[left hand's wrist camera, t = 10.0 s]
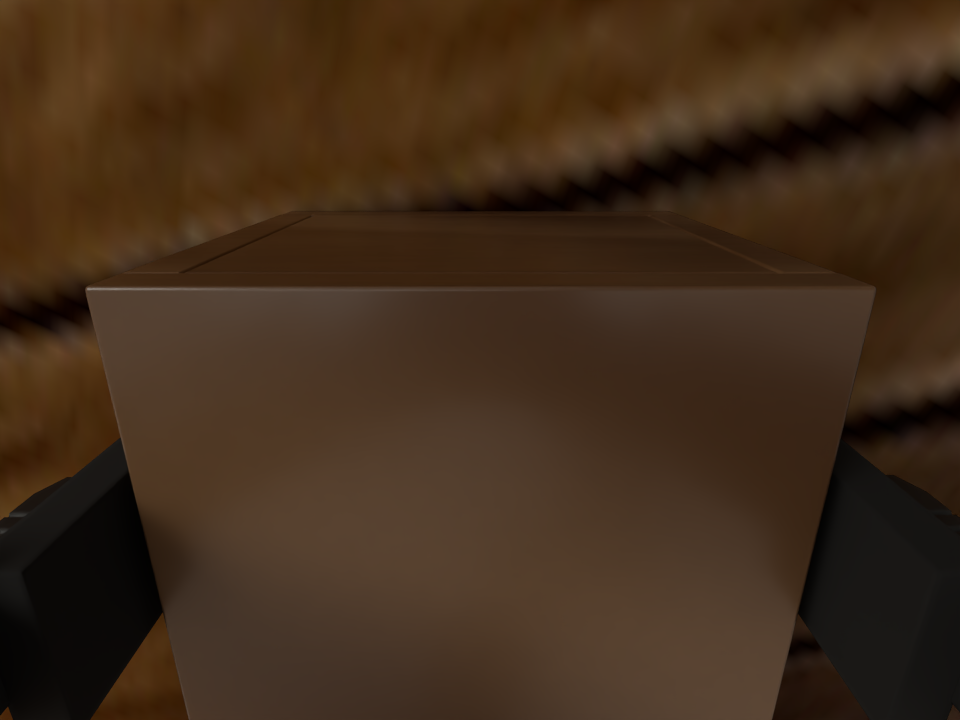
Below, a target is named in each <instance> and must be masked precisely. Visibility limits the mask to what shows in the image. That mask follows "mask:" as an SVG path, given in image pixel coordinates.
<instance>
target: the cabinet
mask: <svg viewBox="0 0 960 720" xmlns="http://www.w3.org/2000/svg"><path fill="white" fill-rule="evenodd" d="M85 292H86V296H87V300H88V304H89V308H90V313H91V317H92V321H93V325H94V329H95V333H96V337H97V341H98V346H99V350H100V354H101V358H102V362H103V366H104V370H105V375H106V379H107V383H108V387H109V391H110V395H111V399H112V403H113V408H114V412H115V416H116V420H117V424H118V428H119V432H120V437H121V441H122V445H123V449H124V453H125V457H126V461H127V465H128V470H129V474H130V478H131V482H132V486H133V490H134V494H135V499H136V503H137V507H138V511H139V515H140V519H141V523H142V527H143V532H144V536H145V540H146V544H147V548H148V552H149V556H150V560H151V565H152V569H153V573H154V577H155V581H156V585H157V589H158V594H159V598H160V602H161V606H162V610H163V614H164V618H165V622H166V627H167V631H168V635H169V639H170V643H171V647H172V651H173V656H174V660H175V664H176V668H177V672H178V676H179V680H180V684H181V689H182V693H183V697H184V701H185V705H186V709H187V713H188V718H189V720H772V718H773V714H774V710H775V706H776V702H777V697H778V693H779V689H780V685H781V681H782V677H783V673H784V669H785V665H786V660H787V656H788V652H789V648H790V644H791V640H792V636H793V632H794V628H795V623H796V619H797V615H798V611H799V607H800V603H801V599H802V595H803V591H804V586H805V582H806V578H807V574H808V570H809V566H810V562H811V558H812V554H813V549H814V545H815V541H816V537H817V533H818V529H819V525H820V521H821V517H822V512H823V508H824V504H825V500H826V496H827V492H828V488H829V484H830V480H831V475H832V471H833V467H834V463H835V459H836V455H837V451H838V447H839V443H840V438H841V434H842V430H843V426H844V422H845V418H846V414H847V410H848V406H849V402H850V397H851V393H852V389H853V385H854V381H855V377H856V373H857V369H858V365H859V360H860V356H861V352H862V348H863V344H864V340H865V336H866V332H867V328H868V323H869V319H870V315H871V311H872V307H873V303H874V299H875V295H876V287H875V286H872V285H870V284H867V283H864V282H862V281H859V280H856V279H853V278H851V277H848V276H845V275H842V274H840V273H835V272H833V271H830V270H828V269H825V268H822V267H820V266H817V265H814V264H811V263H809V262H806V261H803V260H800V259H798V258H795V257H792V256H790V255H787V254H784V253H781V252H779V251H776V250H773V249H770V248H768V247H765V246H762V245H760V244H757V243H754V242H751V241H749V240H746V239H743V238H740V237H738V236H735V235H732V234H730V233H727V232H724V231H721V230H719V229H716V228H713V227H710V226H708V225H705V224H702V223H700V222H697V221H694V220H691V219H689V218H686V217H683V216H680V215H678V214H675V213H672V212H670V211H291V212H289V213H286V214H283V215H279V216H277V217H274V218H271V219H268V220H266V221H263V222H260V223H257V224H255V225H252V226H249V227H246V228H244V229H241V230H238V231H236V232H233V233H230V234H227V235H225V236H222V237H219V238H216V239H214V240H211V241H208V242H205V243H203V244H200V245H197V246H194V247H192V248H189V249H186V250H184V251H181V252H178V253H175V254H173V255H170V256H167V257H164V258H162V259H159V260H156V261H153V262H151V263H148V264H145V265H142V266H140V267H137V268H134V269H132V270H129V271H126V272H124V273H121V274H119V275H116V276H113V277H111V278H108V279H105V280H102V281H100V282H97V283H94V284H91V285H89V286H87V287H86V289H85Z"/></svg>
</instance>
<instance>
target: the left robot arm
mask: <svg viewBox="0 0 960 720" xmlns="http://www.w3.org/2000/svg"><path fill="white" fill-rule="evenodd" d="M162 612H163V610H162V606H161V602H160V598H159V594H158V589H157V585H156V581H155V577H154V573H153V569H152V565H151V560H150V556H149V552H148V548H147V544H146V540H145V536H144V532H143V527H142V523H141V519H140V515H139V511H138V507H137V503H136V499H135V494H134V490H133V486H132V482H131V478H130V474H129V470H128V465H127V461H126V457H125V453H124V449H123V445H122V441H121V438H119V439H118V440H117V441H116V442H114V443H113V444H112V445H111V446H110V447H108V448H107V449H106V450H105V451H103V452H102V453H101V454H100V455H99V456H97V457H96V458H95V459H94V460H93V461H91V462H90V463H89V464H88V465H86V466H85V467H84V468H83V469H82V470H80V471H79V472H78V473H77V474H75V475H74V476H73V477H67V478H65V479H63V480H61V481H59V482H57V483H55V484H53V485H51V486H49V487H47V488H45V489H43V490H41V491H39V492H37V493H35V494H33V495H32V496H31V497H30V498H28V499H27V500H26V501H25V502H23V503H22V504H21V505H19V506H18V507H17V508H16V509H14V510H13V511H12V512H11V513H9V517H4V518H3V519H2V520H0V715H1V714H2V713H3V711H4V710H5V709H6V708H7V707H9V710H10V713H11V715H12V718H13V720H90V719H91V717H92V716H93V714H94V713H95V711H96V710H97V709H98V707H99V706H100V704H101V703H102V701H103V700H104V698H105V697H106V695H107V694H108V692H109V691H110V689H111V688H112V686H113V685H114V683H115V682H116V680H117V679H118V677H119V676H120V674H121V673H122V672H123V670H124V669H125V667H126V666H127V664H128V663H129V661H130V660H131V658H132V657H133V655H134V654H135V652H136V651H137V649H138V648H139V646H140V645H141V643H142V642H143V640H144V639H145V637H146V636H147V634H148V633H149V632H150V630H151V629H152V627H153V626H154V624H155V623H156V621H157V620H158V618H159V617H160V615H161V614H162ZM798 614H799V615H800V617H801V618H802V620H803V621H804V623H805V624H806V626H807V627H808V629H809V630H810V632H811V633H812V635H813V636H814V637H815V639H816V640H817V642H818V643H819V645H820V646H821V648H822V649H823V651H824V652H825V654H826V655H827V657H828V658H829V660H830V661H831V663H832V664H833V666H834V667H835V669H836V670H837V672H838V673H839V675H840V676H841V677H842V679H843V680H844V682H845V683H846V685H847V686H848V688H849V689H850V691H851V692H852V694H853V695H854V697H855V698H856V700H857V701H858V703H859V704H860V706H861V707H862V709H863V710H864V712H865V713H866V714H867V716H868V717H869V719H870V720H947V718H948V715H949V712H950V710H951V707H952V705H954V706H955V707H956V708H957V709H958V710H959V712H960V518H959V517H958V516H957V515H952V514H951V511H950V510H949V509H948V508H947V507H945V506H944V505H943V504H941V503H940V502H939V501H938V500H936V499H935V498H934V497H933V496H931V495H930V494H929V493H927V492H926V491H924V490H922V489H920V488H918V487H916V486H914V485H912V484H910V483H908V482H906V481H904V480H902V479H900V478H898V477H896V476H894V475H885V474H883V473H882V472H881V471H880V470H878V469H877V468H876V467H875V466H874V465H872V464H871V463H870V462H869V461H867V460H866V459H865V458H864V457H863V456H861V455H860V454H859V453H858V452H857V451H855V450H854V449H853V448H852V447H850V446H849V445H848V444H847V443H846V442H844V441H843V440H842V439H841V438H840V443H839V447H838V451H837V455H836V459H835V463H834V467H833V471H832V475H831V480H830V484H829V488H828V492H827V496H826V500H825V504H824V508H823V512H822V517H821V521H820V525H819V529H818V533H817V537H816V541H815V545H814V549H813V554H812V558H811V562H810V566H809V570H808V574H807V578H806V582H805V586H804V591H803V595H802V599H801V603H800V607H799V611H798Z"/></svg>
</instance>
